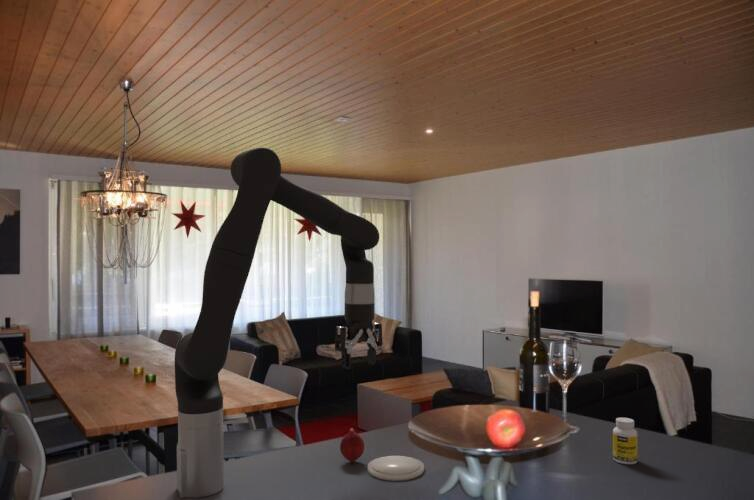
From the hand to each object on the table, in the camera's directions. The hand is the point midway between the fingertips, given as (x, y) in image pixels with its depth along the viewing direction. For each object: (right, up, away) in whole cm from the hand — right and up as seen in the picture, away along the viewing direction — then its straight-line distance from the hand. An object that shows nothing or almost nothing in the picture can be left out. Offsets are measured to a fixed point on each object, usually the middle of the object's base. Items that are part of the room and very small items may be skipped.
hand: (359, 366), depth 147 cm
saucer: (+9, -21, -12) cm, 26 cm away
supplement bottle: (+63, -21, -8) cm, 67 cm away
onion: (-1, -22, -7) cm, 23 cm away
